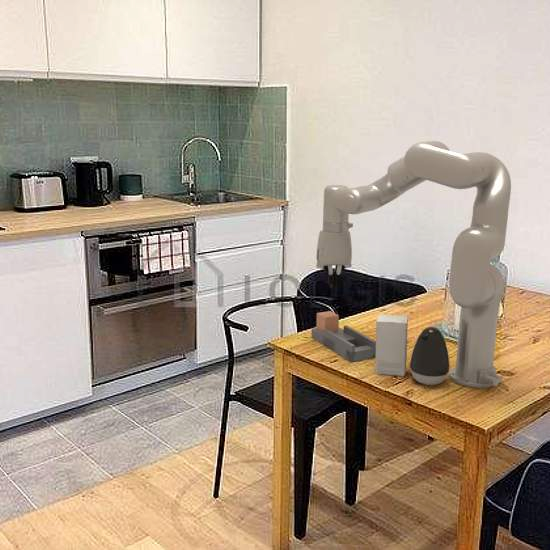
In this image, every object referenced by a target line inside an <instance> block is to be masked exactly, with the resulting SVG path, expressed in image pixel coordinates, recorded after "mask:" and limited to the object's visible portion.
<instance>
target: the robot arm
mask: <svg viewBox="0 0 550 550" xmlns="http://www.w3.org/2000/svg"><path fill="white" fill-rule="evenodd" d="M426 181H429V182H432V183H435V184H438V185H442V186H445V187H449V188H452V189H455V190H467V189H471V188H476V190H477V191H476V196H475V199H474V202H473V206H472V216H471V221H470V222H471V223H470V226H469V227H468V228H465V229H464V230H462V231H461V232H460V233H458V235H457V236H456V238H455V240H454V243H453V246H452V247H453V248H452V252H451V253H452V254H451V261H450V262H451V263H450V272H449V279H448V280H449V281H448V282H449V283H448V290H449V291H448V292H449V295H450V297H451V299H452V301H453V303H455V304H456V305H457V306H458V307H460V312H459V313H460V314H459V321H458V322H459V323H458V324H459V325H458V332H457V333H458V334H457V335H458V336H457V347H456V348H457V349H456V360H455V367H452V368H451V369H449V372H448V377H449V378H450V380H451V381H453V382H454V383H456V384H459V385H461V386H465V387H469V388H475V389H476V388H478V389H479V388H480V389H485V388H490V387H495V386H498V385H499V383H500V382H501V381H502V379H503V377H502V376H501V375H499V374H496V373H497V367H496V366H494V360H495V349H496V340H497V339H496V338H497V330H498V320H499V313H500V308H501V307H500V306H501V302H502V296H503V292H504V285H505V284H504V283H505V282H504V276H503V274H502V272H501V270H500V269H499V268H498V267H496V266H495V265H494V264H491V261H492V260H495V258H497V257H499V256H500V255H501V254H502V253H503V251H504V249H505V245H506V244H505V243H506V237H507V236H506V235H507V228H508V227H507V226H508V219H509V208H510V201H511V191H512V180H511V176H510V173H509V170H508V168H507V167H506V165H505V164H504V162H502V161H501V160H500V159H499V158H498V157H496V156H494V155H493V154H491V153H488V152H481V151H475V152H467V153H459V152H455V151H452V150H450V148H449V147H448V146H447V145H446V144H444V143H443V142H441V141H438V140H437V141H436V140H431V141H430V140H429V141H420V142H417V143H415V144H412V145H411V146H410V147H409V148H408V149H407V151H406V152H405V155H403V157H401V158H399V159H398V160H395V161H393V162H392V163H390V165H389V166H388V167H387V173H386V174H385V175H384V176H382V177H381V178H378V179H377V180H375V181H373V182H372V183H369V184H367V185H364V186H363V185H362V186H356V187H351V188H349V187H348V186H347V185H342V184H340V185H339V184H330V185H326V186H325V187H324V189H323V208H322V209H323V210H322V212H323V213H322V230H319V233H318V237H317V238H318V239H317V244H316V245H317V246H316V254H315V255H316V261H317V262H316V265H315V267H316V268H318V269H320V270H324V271H326V273H327V284H328V285H329V286H330V288H332V289H333V288H335V289H336V288H338V285H339V282H340V275H341V273H342V272H343V271H344V270H345V269H346V270H347V269H349V268H351V267H352V260H353V258H352V256H353V255H352V254H353V251H352V248H353V247H352V238H351V237H352V235H351V231H349V230H350V228H353V227H354V224H353V223H351V222H349V217H350V215H359V214H364V213H367V212H373V211H375V210H377V209H380V208H382V207H383V206H385V205H388V203H391V202H392V201H394V200H396V199H398V198H399V197H401V195H403V194H404V193H406V192H408V191H410V190H411V189H413V188H415V187H416V186H418V185H420V184H422V183H424V182H426ZM333 266H334V271H333Z"/></svg>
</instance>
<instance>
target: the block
mask: <svg viewBox="0 0 550 550" xmlns="http://www.w3.org/2000/svg"><path fill="white" fill-rule="evenodd" d="M339 319H340V315H339V314H337V313H336V312H334V311H331V310H328V311H323V312H317V313H316V326H315V328H317V329H319V330H320V331H322V332H323V329H327V330H329V331H331V332H334V331H338V328H340V327H339V326H340V325H339V324H340V321H339Z"/></svg>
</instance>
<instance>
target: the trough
mask: <svg viewBox="0 0 550 550" xmlns="http://www.w3.org/2000/svg"><path fill="white" fill-rule="evenodd" d="M310 334H311V339H313V340H315V341H317V342H318V343H319V344H321V345H323V346H324V347H326V348H328V349H329V350H330V351H332V352H334V353H335V354H337V355H338V356H341V357H342V358H343V359H345V360H347V361H348V362H350V363H356V362H360V361H366V360H371V359H376V339H372V338H371V337H370V336H367V335H365V334H363V333H361V332H360V331H358V330H356V329H354V328H352V327H350V326H348V325H347V324H346V325H343V328H341V327H339V328H338V331H334V332H331V331H329V330H327V329H323V332H322V331H320V330H319V329H317V328H316V327H313V328H311V333H310Z"/></svg>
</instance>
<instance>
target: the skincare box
mask: <svg viewBox="0 0 550 550" xmlns="http://www.w3.org/2000/svg"><path fill="white" fill-rule="evenodd" d="M408 322H409V315H402V314H401V315H400V314H398V315H396V314H385V313H384V314H383V313H379V314H378V316H377V318H376V321H375V341H376V358H375V367H374V368H375V374H376V375H377V374H378V375H387V376H399V377H405V375H406V371H407V360H408V359H407V358H408V357H407V356H408V329H409V327H408V326H409V325H408V324H409V323H408Z"/></svg>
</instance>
